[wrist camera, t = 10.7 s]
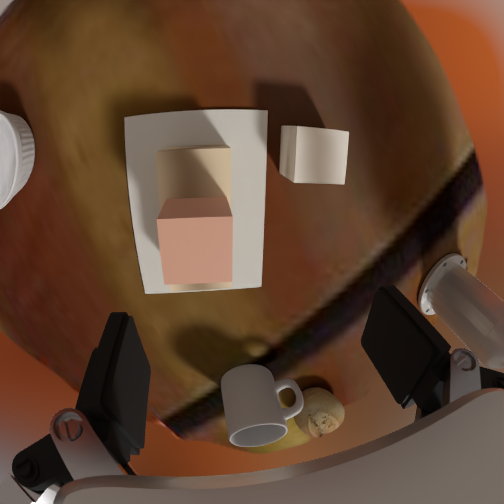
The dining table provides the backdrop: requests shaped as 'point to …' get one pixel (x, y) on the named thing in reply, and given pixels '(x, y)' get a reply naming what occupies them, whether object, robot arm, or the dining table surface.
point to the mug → (256, 405)
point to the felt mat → (242, 183)
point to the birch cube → (313, 154)
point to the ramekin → (14, 155)
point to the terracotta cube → (196, 240)
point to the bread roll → (319, 412)
